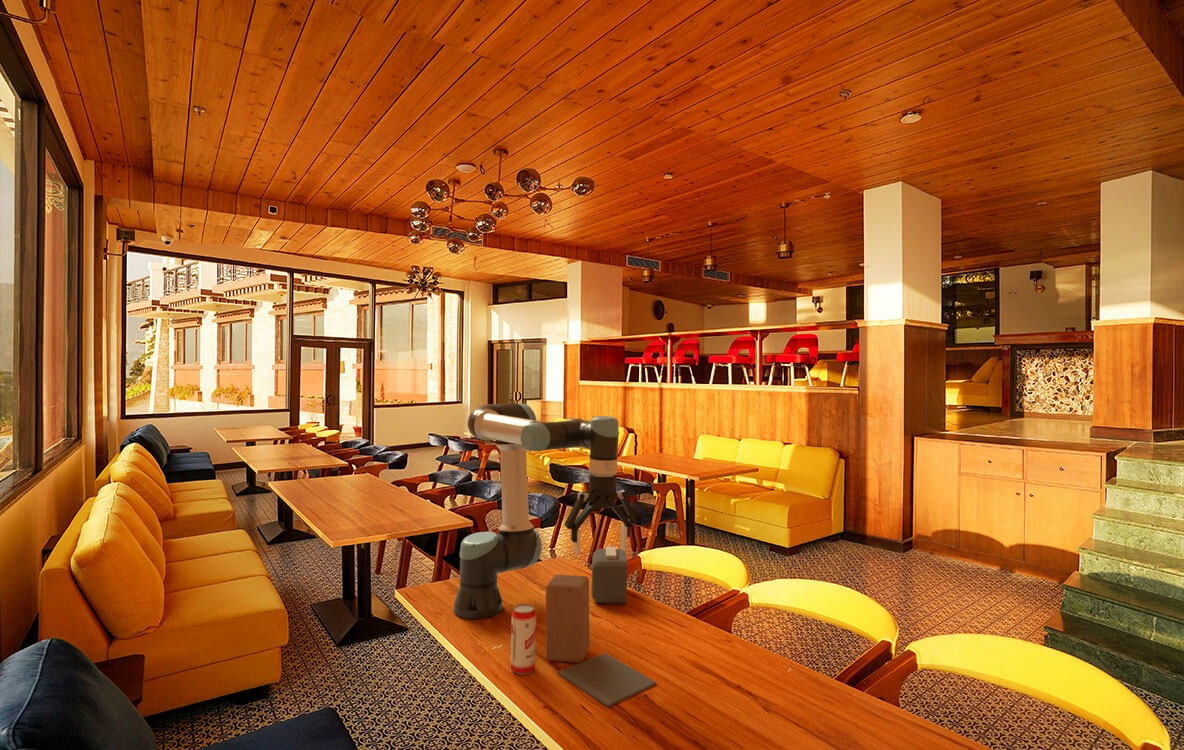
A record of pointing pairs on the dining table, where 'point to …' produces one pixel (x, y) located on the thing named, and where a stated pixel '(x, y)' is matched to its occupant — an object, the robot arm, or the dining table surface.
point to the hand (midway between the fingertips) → (600, 551)
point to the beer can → (523, 639)
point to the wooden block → (567, 618)
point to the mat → (606, 679)
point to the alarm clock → (609, 575)
